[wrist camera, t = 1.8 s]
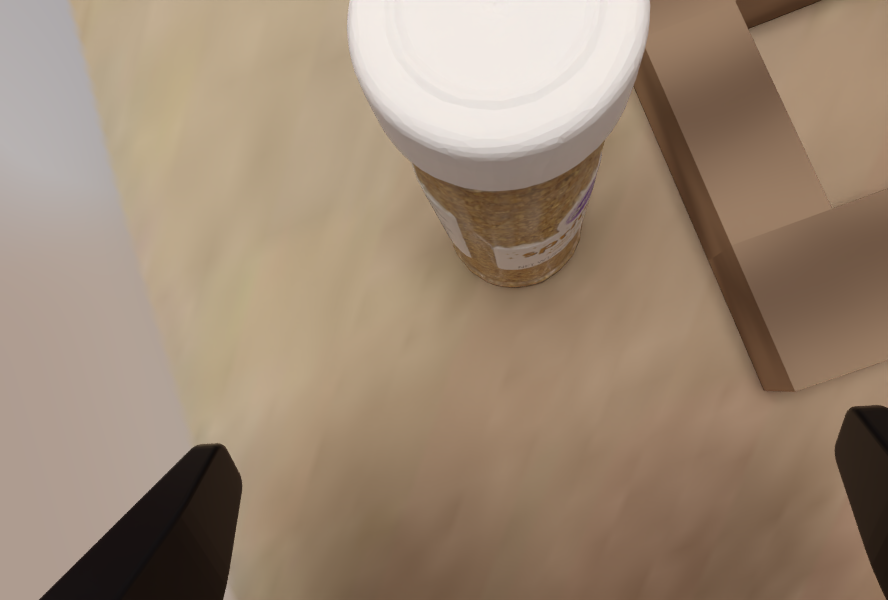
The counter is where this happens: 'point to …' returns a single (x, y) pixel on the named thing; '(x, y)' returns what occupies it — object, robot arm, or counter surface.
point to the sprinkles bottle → (501, 114)
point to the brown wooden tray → (763, 197)
